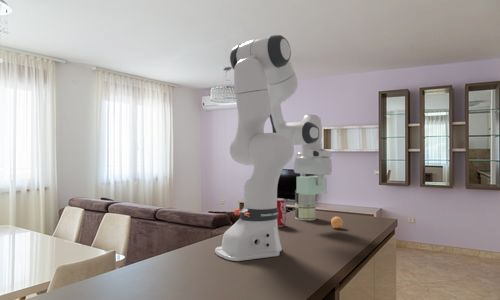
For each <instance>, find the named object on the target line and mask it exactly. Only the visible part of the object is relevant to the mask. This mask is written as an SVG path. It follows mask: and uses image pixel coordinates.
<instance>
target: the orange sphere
mask: <svg viewBox="0 0 500 300" xmlns="http://www.w3.org/2000/svg"><path fill="white" fill-rule="evenodd" d="M330 220H331V221H330V224H331V226H332V228H334V229H341V228H342V227H343V224H344V221H343V219H342V218H341V217H340V216H334V217H332V218H331V219H330Z"/></svg>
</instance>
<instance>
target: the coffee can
mask: <svg viewBox="0 0 500 300" xmlns="http://www.w3.org/2000/svg"><path fill="white" fill-rule="evenodd" d="M316 196H317V194H310V195H307V194H300V193H296V189H295V190H294V208H295V209H294V214H295V215H294V216H295V217H294V219H295V220H298V221H314V220H316V219H317V217H316V216H317V215H316V214H317V213H316V211H317V209H316V206H317V204H316V199H317V198H316Z"/></svg>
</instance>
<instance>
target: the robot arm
mask: <svg viewBox="0 0 500 300" xmlns="http://www.w3.org/2000/svg"><path fill="white" fill-rule="evenodd" d="M291 51H292V50H291V45H290V43H289V40H288V39H287V38H286V37H284V35H279V34H274V35H270V36H268V37H267V36H266V37H261V38H255V39H251V40H249V41H246V42H244V43H239V44H238V45H236V46H235V47H233V48H232V49H231V52H230V56H229V62H230V66H231V67H232V69H233V70H234V72H233V84H234V93H235V99H236V100H235V101H236V108H237V117H238V119H237V128H236V134H235V137H234V138H233V140H232V141H231V143H230V146H229V153H230V154H229V155H230V156H231V158H232V160H234V161H235V162H236V163H238V164H240V165H244V166H252V167H253V169H252V174H251V176H250V178H249V179H247V180H245V183H244V185H243V198H244V199H243V200H244V201H243V207H242V209H239V208H234V209H233V213H234V215H236V216H239V219H238V220H237V221H236V222H235V223H234V224H233V225H231V226H230V227H229V228H228V229H227V230H226V231H225V232H224V233H223V236H222V239H221V240H222V241H221V246H217V247H215V250H214V253H215V254H216V255H217V256H218V257H221V258H223V259H225V260H228V261H232V262H233V261H235V262H240V261H248V260H249V261H250V260H256V259H264V258H273V257H279V256H280V255H281V254H280V252H282V250H283V248H282V244H281V241H280V235H279V227H278V225H277V220H278V207H277V198H278V184H279V180H280V176H281V174H282V172H283V169H285V167H286V165H287V164H288V163H290V162H291V160H292V159H293V156H294V154H295V148H294V146H300V145H301V148H300V149H301V152H298V153H296V155H295V157H294V158H295V159H294V163H293V172H294V174H299V175H300V176H307V175H316V176H318V177H319V178H318V181H316V185H319V186H320V185H322V180H323V178H324V177H325V176H330V175H331V174H332V169H333V166H332V165H333V163H332V158H331V157H332V153H331V151H330V150H326V149H325V148H323V143H322V137H323V125H322V120H321V117H320V116H318V115H315V114H306V115H304V116H303V117H302V119H301V120H300V121H293V122H291V121H290V122H289V121H288V122H287V121H285V120H284V115H283V112H282V108H281V104H282V103H283V102H285V101H287V100H289V99H290V98H291V97H292V96H293V95H294V94H295V93H296V91H297V89H298V79H297V75H296V73H295V70H294V67H293V65H292V62H291V60H290V59H291V56H292V55H291V54H292V52H291ZM268 119H269V120H270V124H271V128H272V132H264V131H265V130H264V129H265V124H266V122H267V120H268ZM300 176H299V177H300Z"/></svg>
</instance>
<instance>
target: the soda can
mask: <svg viewBox="0 0 500 300" xmlns="http://www.w3.org/2000/svg"><path fill="white" fill-rule="evenodd" d="M277 207H278V220H277V225H278V228H283V227H284V226H286V223H287V204H286V201H285V198H282V197H281V198H280V197H277Z"/></svg>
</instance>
